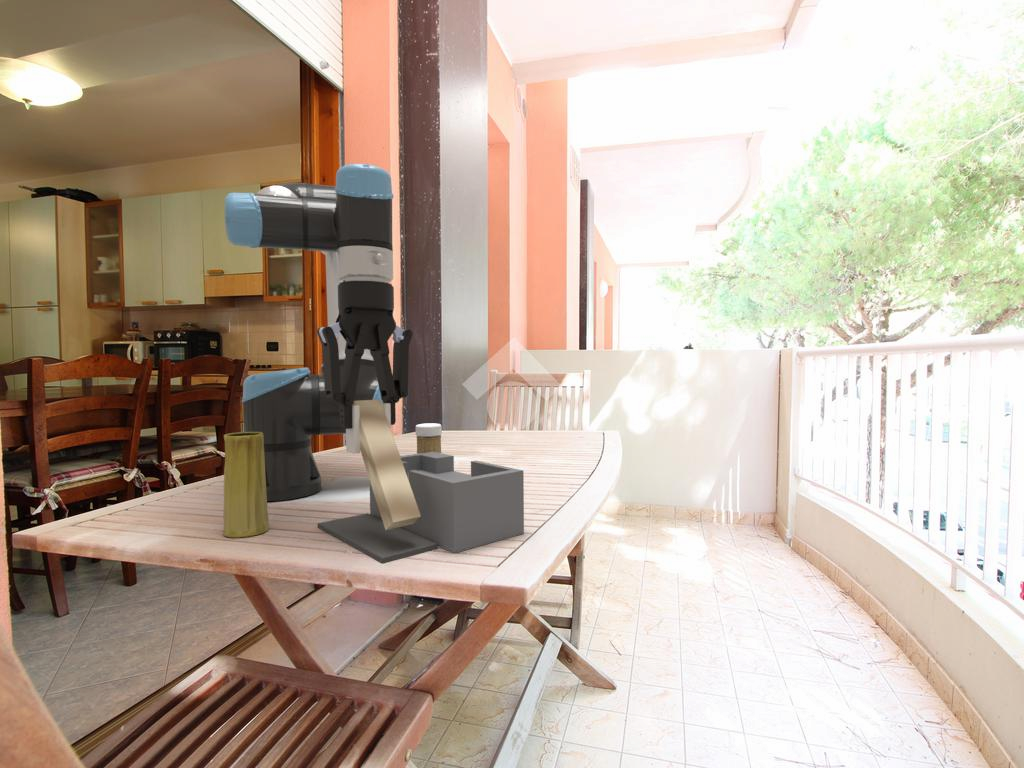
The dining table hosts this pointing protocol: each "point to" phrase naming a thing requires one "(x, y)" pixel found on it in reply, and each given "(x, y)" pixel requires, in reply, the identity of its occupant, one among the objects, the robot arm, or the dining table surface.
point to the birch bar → (385, 467)
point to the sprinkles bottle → (428, 437)
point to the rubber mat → (377, 537)
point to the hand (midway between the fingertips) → (369, 449)
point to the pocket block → (462, 501)
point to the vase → (245, 485)
